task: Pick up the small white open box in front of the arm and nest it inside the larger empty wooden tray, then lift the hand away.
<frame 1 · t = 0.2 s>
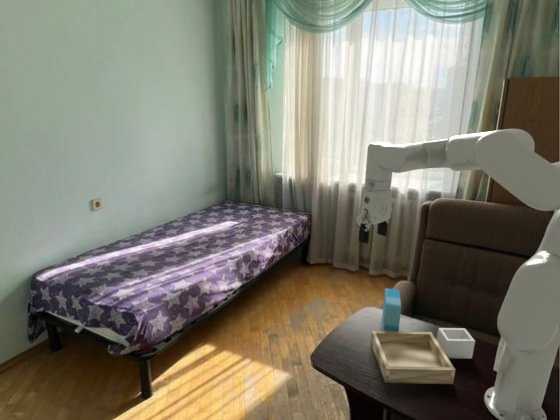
hand: (372, 238, 110), 31 cm above the table, tool pointing down, fingers open, 9 cm apart
white open box: (453, 351, 106), on the table
data package: (389, 328, 116), on the table
wooden tray: (408, 362, 101), on the table
ink box: (510, 377, 96), on the table
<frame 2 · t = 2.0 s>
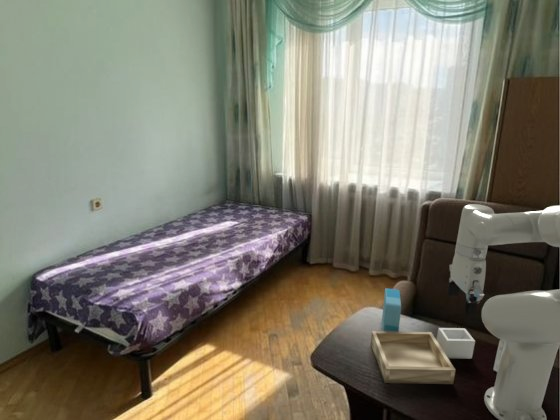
hand: (460, 304, 102), 16 cm above the table, tool pointing down, fingers open, 9 cm apart
nothing on the table moved.
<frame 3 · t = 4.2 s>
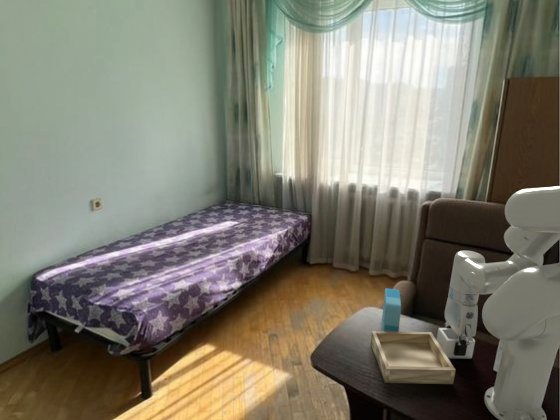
hand: (454, 346, 105), 2 cm above the table, tool pointing down, fingers closed on white open box, 6 cm apart
white open box: (453, 351, 106), on the table, touching gripper
everything else where it was.
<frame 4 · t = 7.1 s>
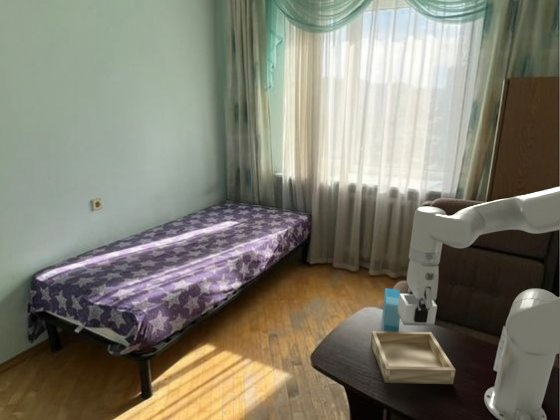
hand: (415, 313, 97), 16 cm above the table, tool pointing down, fingers closed on white open box, 6 cm apart
white open box: (415, 318, 97), point 14 cm above the table, touching gripper
everything else where it was.
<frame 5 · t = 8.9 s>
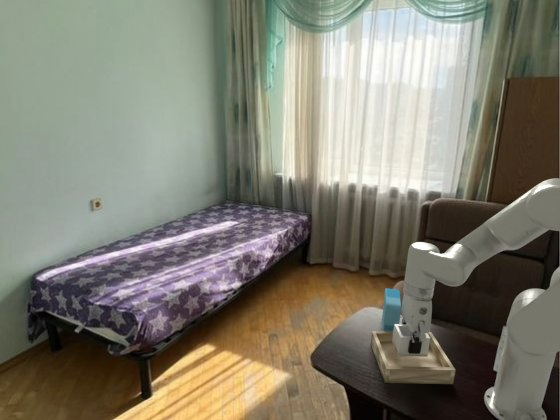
hand: (409, 344, 100), 6 cm above the table, tool pointing down, fingers closed on white open box, 6 cm apart
white open box: (409, 348, 100), point 4 cm above the table, touching gripper
everything else where it was.
when the fingers open (4 cm above the table, at t = 10.2 s): white open box drops 1 cm, resting on wooden tray.
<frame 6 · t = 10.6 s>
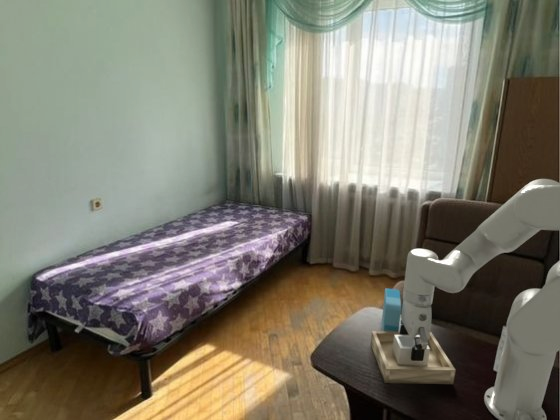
hand: (410, 348, 100), 5 cm above the table, tool pointing down, fingers open, 9 cm apart
white open box: (409, 359, 101), point 1 cm above the table, touching wooden tray
everything else where it was.
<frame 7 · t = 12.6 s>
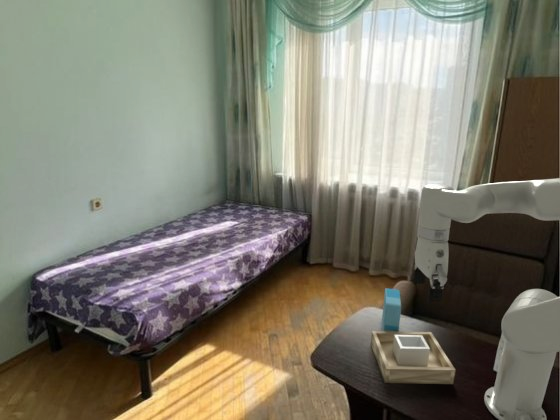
hand: (426, 291, 96), 22 cm above the table, tool pointing down, fingers open, 9 cm apart
nothing on the table moved.
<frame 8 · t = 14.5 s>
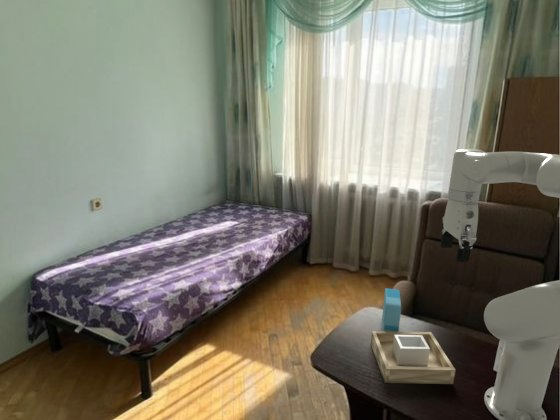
hand: (453, 254, 100), 30 cm above the table, tool pointing down, fingers open, 9 cm apart
nothing on the table moved.
at the end: white open box inside the target area on the wooden tray (0.0 cm from its centre), point 1.0 cm above the wooden tray's base; white open box tilted 0°; the gripper is holding nothing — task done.
